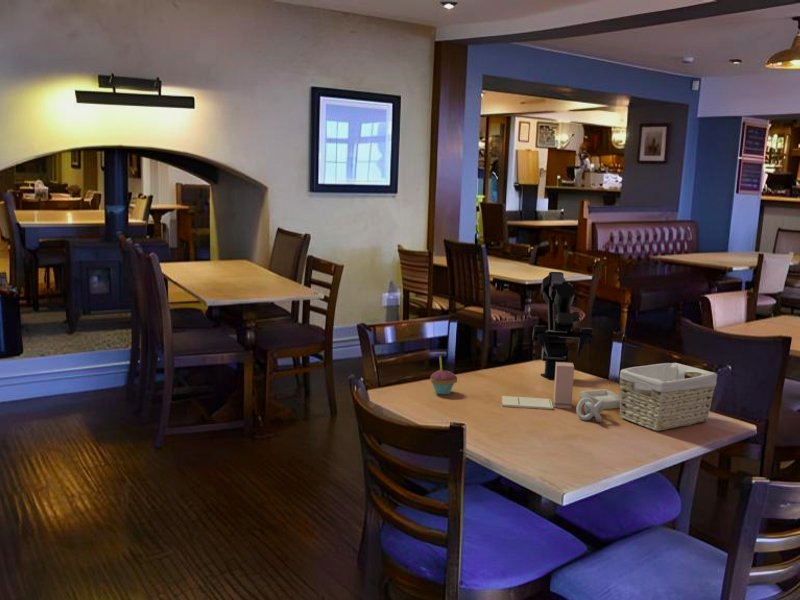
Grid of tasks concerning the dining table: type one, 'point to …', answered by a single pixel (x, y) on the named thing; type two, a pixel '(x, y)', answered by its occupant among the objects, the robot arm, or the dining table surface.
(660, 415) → the storage basket
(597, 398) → the bill dish
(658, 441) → the dining table surface
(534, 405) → the ticket book
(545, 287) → the robot arm
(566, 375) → the pinkish tall block
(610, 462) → the dining table surface
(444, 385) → the cupcake
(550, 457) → the dining table surface
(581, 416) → the knot
